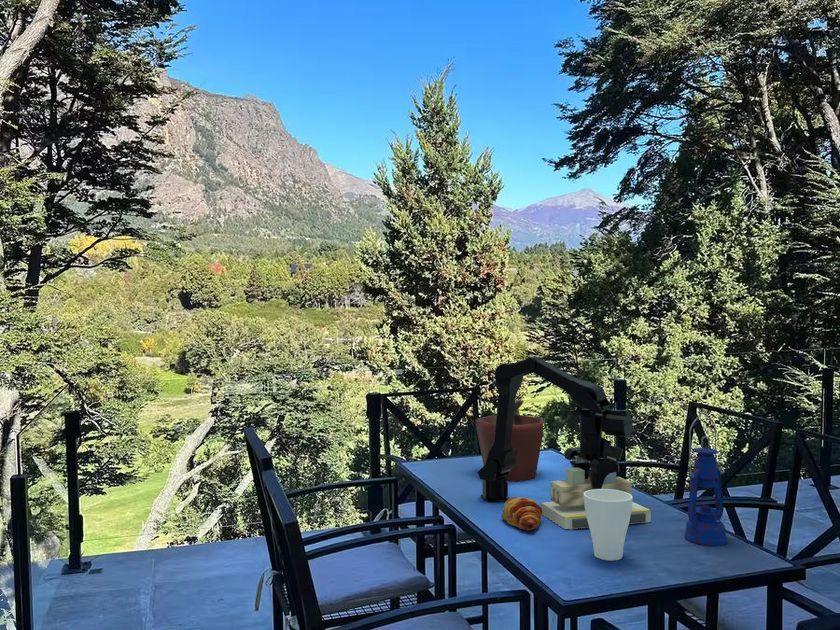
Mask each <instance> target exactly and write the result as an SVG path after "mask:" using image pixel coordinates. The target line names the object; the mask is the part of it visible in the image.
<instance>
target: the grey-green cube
mask: <svg viewBox="0 0 840 630" xmlns="http://www.w3.org/2000/svg"><path fill="white" fill-rule="evenodd" d="M565 480H566V482H568V483H570V484H571V485H578V484H585V470H582V469H580V468H573V467H567V468H565Z"/></svg>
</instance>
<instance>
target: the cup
mask: <svg viewBox="0 0 840 630" xmlns="http://www.w3.org/2000/svg"><path fill="white" fill-rule="evenodd" d="M633 499H634V497H633V495H632V493H631V494H629V493H627V492H623V491H619V490H612V489H593V490H588V491H586V492H584V505H585V511H586V516H587V521H588V525H589V528H588V529H589V533H590V537H591V541H592V547H593V549H592V550H593V554H594V555H593V556H594V558H595V557H596V558H597V559H599V560H603V561H608V562H609V561H611V562H613V561H614V562H615V561H620V560H621V559H622V558H623V555H624V554H623V553H624V545H625V539H626V536H627V532H628V528H629V525H630V524H629V521H630V516H631V511H632V502H633Z"/></svg>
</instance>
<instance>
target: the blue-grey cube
mask: <svg viewBox="0 0 840 630" xmlns="http://www.w3.org/2000/svg"><path fill="white" fill-rule="evenodd" d="M616 477H617V472H614V473H610V474H609V475H607V476H606V478H605V480H604V483H607V482H616Z"/></svg>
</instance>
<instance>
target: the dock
mask: <svg viewBox="0 0 840 630" xmlns="http://www.w3.org/2000/svg"><path fill="white" fill-rule="evenodd" d="M540 507H541V508H542V514H541V516H544V517H545V516H546V517H545V518H546V519H548V518H549V519H548V520H550V521H551V520H552V521H551V522H553V523H554V522H555V523H554V524H556V525H557V524H558V525H557V526H559V527H560V526H561V527H562V529H563V528H564V529H569V530H578V528H579V529H580V528H581V529H590V528H589V525H588V521H587V516H586V511H585V505H576V506H563V507H561V506H559V504H556V503H555V501H547V502H541V503H540ZM651 513H652V511H651V509H649V508H648V507H647V508H646V507H644V506H642V505H641V504H638V503H636V502H634V501H632V511H631V516H630V521H629V525H635V524H636V525H637V524H645V523H647V524H648V523H651V522H652V521H651V520H652V519H651V518H652V516H651V515H652V514H651ZM561 527H560V528H561ZM564 529H563V530H564Z"/></svg>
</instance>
